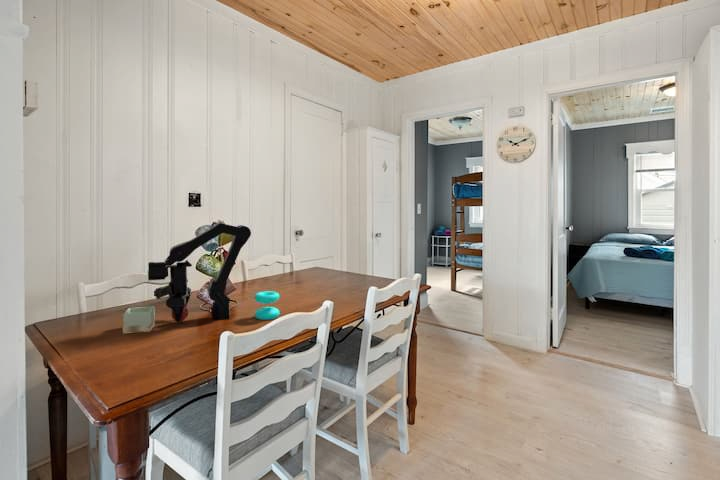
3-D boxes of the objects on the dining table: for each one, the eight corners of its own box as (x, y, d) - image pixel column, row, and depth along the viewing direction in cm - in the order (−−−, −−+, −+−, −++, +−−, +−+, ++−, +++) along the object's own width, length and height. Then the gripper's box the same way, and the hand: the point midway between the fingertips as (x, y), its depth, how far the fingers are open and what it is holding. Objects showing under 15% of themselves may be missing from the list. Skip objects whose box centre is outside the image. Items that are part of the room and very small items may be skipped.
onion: (181, 325, 142) (181, 304, 141) (168, 324, 143) (167, 303, 142) (191, 320, 148) (190, 301, 147) (178, 319, 149) (178, 300, 148)
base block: (154, 325, 143) (154, 317, 143) (150, 332, 135) (149, 324, 135) (129, 327, 141) (129, 319, 140) (123, 335, 133) (122, 326, 132)
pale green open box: (154, 317, 143) (154, 306, 143) (151, 324, 135) (150, 312, 135) (129, 319, 140) (128, 308, 140) (123, 326, 132) (123, 314, 132)
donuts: (259, 297, 146) (250, 292, 154) (260, 322, 147) (251, 316, 155) (283, 294, 152) (273, 289, 160) (283, 318, 153) (273, 312, 161)
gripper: (160, 274, 150) (162, 312, 152) (149, 284, 133) (151, 327, 134) (190, 273, 154) (191, 310, 155) (183, 282, 136) (184, 324, 137)
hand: (179, 317), depth 145 cm, fingers open, 9 cm apart
